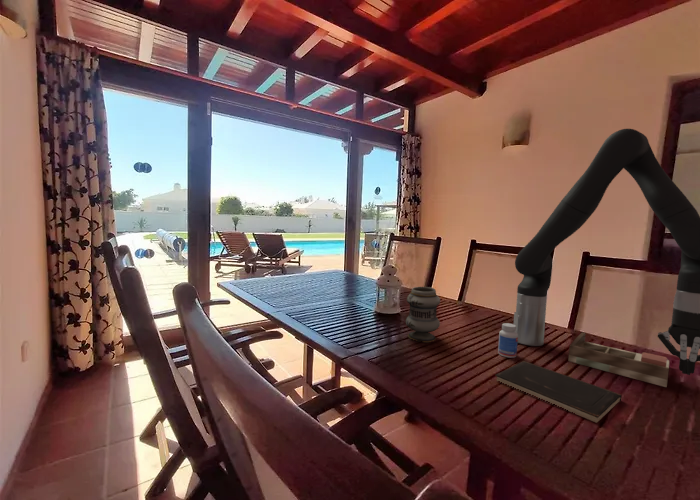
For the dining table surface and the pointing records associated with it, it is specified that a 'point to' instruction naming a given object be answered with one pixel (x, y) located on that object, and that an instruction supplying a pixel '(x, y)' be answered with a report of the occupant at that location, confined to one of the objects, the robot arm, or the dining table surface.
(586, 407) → the hardcover book
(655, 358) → the brown block
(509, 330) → the pill bottle
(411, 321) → the apothecary jar
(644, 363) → the trap tray
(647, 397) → the dining table surface
